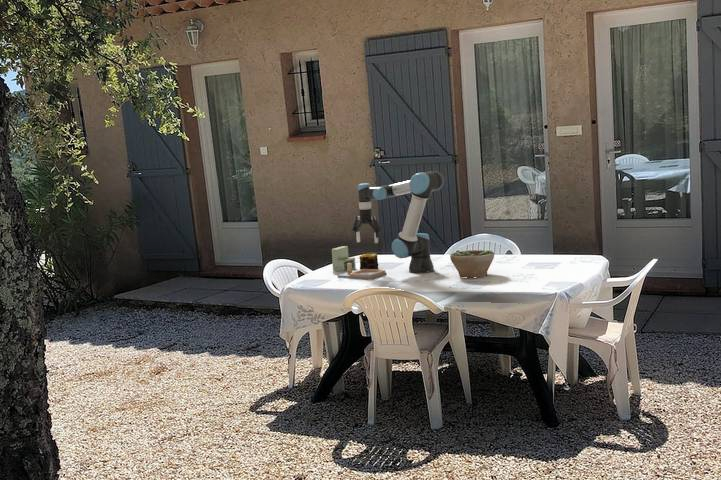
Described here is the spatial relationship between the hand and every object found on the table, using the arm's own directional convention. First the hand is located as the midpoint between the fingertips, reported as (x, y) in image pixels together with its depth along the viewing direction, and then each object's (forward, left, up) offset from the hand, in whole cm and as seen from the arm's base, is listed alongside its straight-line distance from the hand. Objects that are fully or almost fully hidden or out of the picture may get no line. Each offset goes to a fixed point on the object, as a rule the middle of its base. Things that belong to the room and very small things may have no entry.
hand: (367, 242), depth 487 cm
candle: (0, 0, -18) cm, 18 cm away
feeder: (+18, +2, -18) cm, 25 cm away
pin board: (-6, +16, -18) cm, 24 cm away
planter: (-71, -3, -18) cm, 73 cm away
